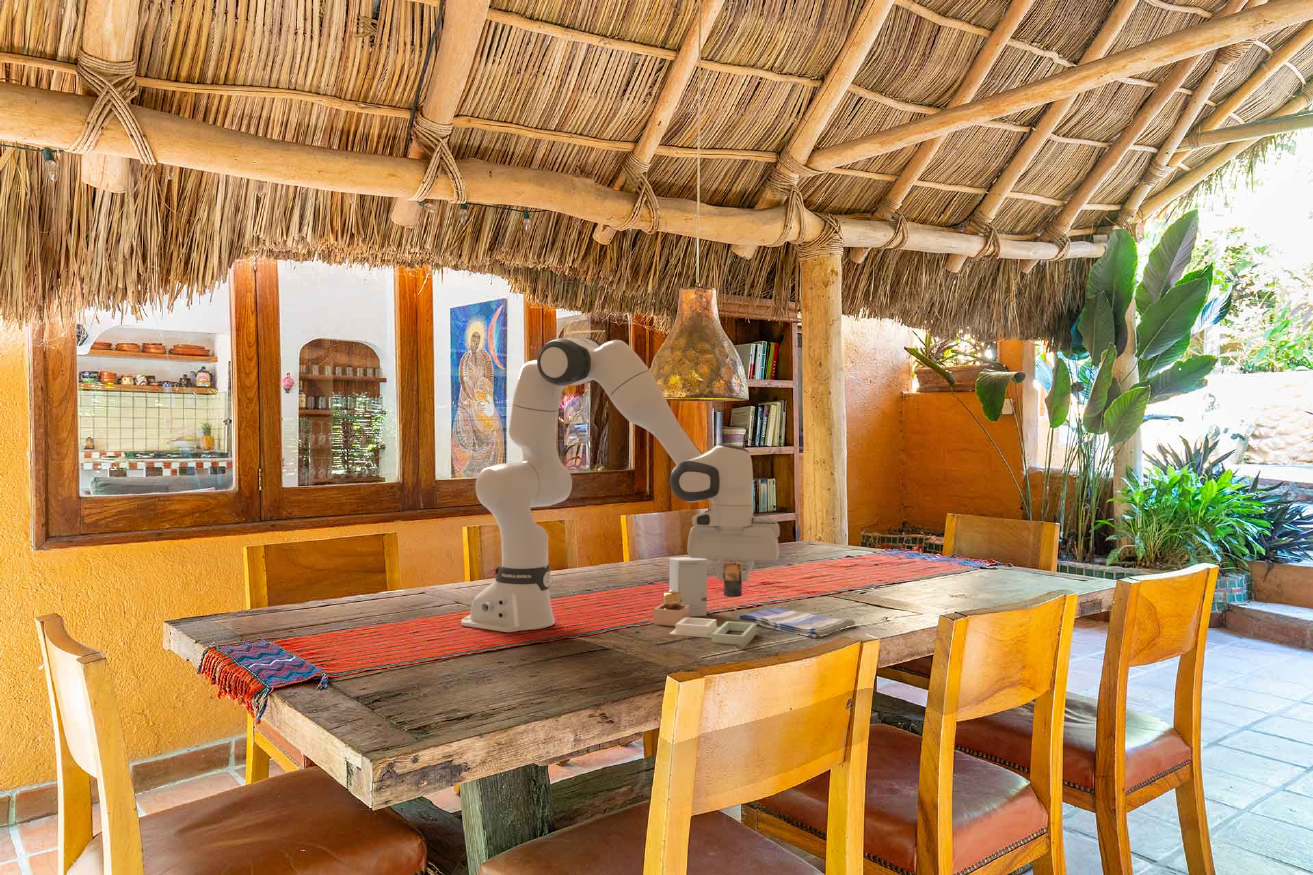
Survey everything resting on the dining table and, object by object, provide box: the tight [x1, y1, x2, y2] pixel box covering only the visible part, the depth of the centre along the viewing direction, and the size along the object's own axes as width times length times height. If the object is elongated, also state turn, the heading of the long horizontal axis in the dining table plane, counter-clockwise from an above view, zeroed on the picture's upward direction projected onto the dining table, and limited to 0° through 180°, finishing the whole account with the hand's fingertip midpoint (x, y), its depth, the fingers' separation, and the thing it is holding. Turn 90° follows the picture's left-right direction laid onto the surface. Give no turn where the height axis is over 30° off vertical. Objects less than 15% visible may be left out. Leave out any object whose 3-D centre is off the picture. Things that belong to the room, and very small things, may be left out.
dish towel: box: [739, 607, 856, 637], centre depth 209 cm, size 17×24×3 cm
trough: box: [711, 620, 757, 649], centre depth 194 cm, size 7×13×3 cm, turn 161°
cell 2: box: [723, 560, 743, 598], centre depth 191 cm, size 4×4×8 cm
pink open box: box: [653, 602, 691, 627], centre depth 208 cm, size 7×7×4 cm
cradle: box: [669, 617, 720, 639], centre depth 199 cm, size 10×9×3 cm
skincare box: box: [668, 556, 708, 618], centre depth 217 cm, size 8×6×15 cm
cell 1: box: [663, 589, 681, 610], centre depth 208 cm, size 4×4×8 cm
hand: (733, 579), depth 191 cm, fingers closed on cell 2, 4 cm apart
